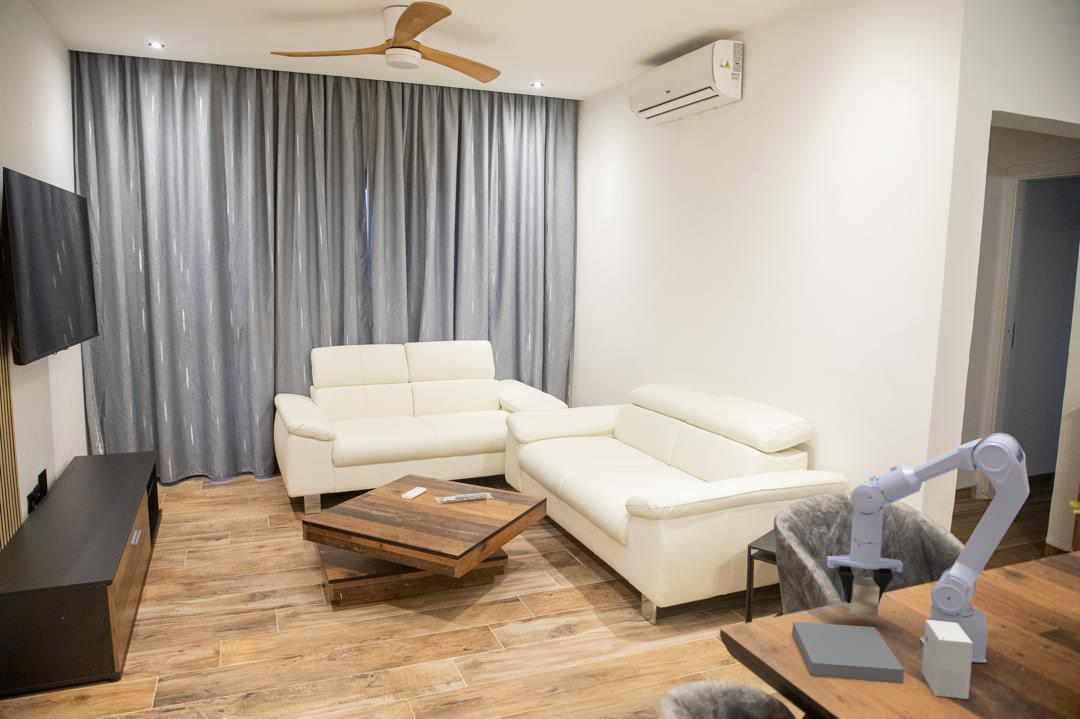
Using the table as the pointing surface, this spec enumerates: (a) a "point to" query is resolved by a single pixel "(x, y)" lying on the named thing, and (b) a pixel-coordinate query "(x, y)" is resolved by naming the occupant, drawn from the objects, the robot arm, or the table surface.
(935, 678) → the small box
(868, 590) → the maple block
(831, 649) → the slate plinth
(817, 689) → the table surface
